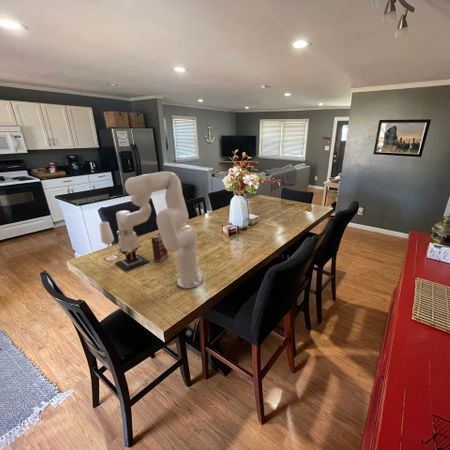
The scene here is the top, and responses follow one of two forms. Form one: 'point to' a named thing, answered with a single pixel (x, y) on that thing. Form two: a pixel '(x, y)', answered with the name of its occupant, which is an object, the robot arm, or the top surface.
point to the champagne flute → (107, 238)
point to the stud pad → (131, 258)
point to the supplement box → (158, 248)
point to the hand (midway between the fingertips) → (131, 258)
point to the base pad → (132, 265)
